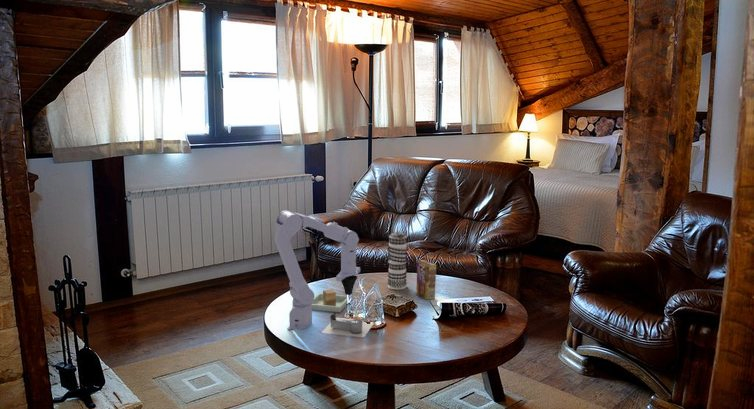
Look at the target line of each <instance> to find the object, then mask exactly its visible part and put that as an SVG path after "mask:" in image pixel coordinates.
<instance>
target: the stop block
mask: <svg viewBox="0 0 754 409" xmlns="http://www.w3.org/2000/svg"><path fill="white" fill-rule="evenodd" d="M322 294H323V305H329V306H336V295H337V292H336V291H335V290H334V289H333V288H330V289H322Z"/></svg>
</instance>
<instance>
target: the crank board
mask: <svg viewBox="0 0 754 409" xmlns="http://www.w3.org/2000/svg"><path fill="white" fill-rule="evenodd" d="M336 318H338V319H343V320H349V321H351V320H354V319H355V318H354V319H353V318H345V317H337V316H336ZM361 320H362V333H360V334H353V333H351V332H350V331H348V330H343V329H338V328H332V327H331V322H330V323H328V325H327V326H326V327H325V328H324V329H323V330H322V331H321V334H327V335H329V334H330V335H337V336H338V335H339V336H346V337H356V338H362V339H363V338H365V337H366V336H367V334H368V332H369V331H370V330H371V328H372V327H373V326H374V324H367V323H365V322H364V319H361Z"/></svg>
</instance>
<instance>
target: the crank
mask: <svg viewBox="0 0 754 409" xmlns="http://www.w3.org/2000/svg"><path fill="white" fill-rule="evenodd" d="M336 313H337V312H333V313H332V314H331V315H330V316H329V317H330V318H329V319H330V323H331V327H332V328H338V329H343V330H348V331H350V332H351V333H353V334H360V333H362V320H363V319H356V318H354V320H351V321H349V320H343V319H338V318H339V317H337V316H336V315H337V314H336ZM336 317H337V318H336Z"/></svg>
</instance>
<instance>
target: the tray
mask: <svg viewBox="0 0 754 409" xmlns="http://www.w3.org/2000/svg"><path fill="white" fill-rule="evenodd" d="M347 296H348V295H343V294H342V295H341V294H336V306H329V305H323V293H317V294H316V295H314V300H313V302H312V311H324V312H333V313H341V312H342V311H343V310H344V308H346V306H347V305H346V302H347Z"/></svg>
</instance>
